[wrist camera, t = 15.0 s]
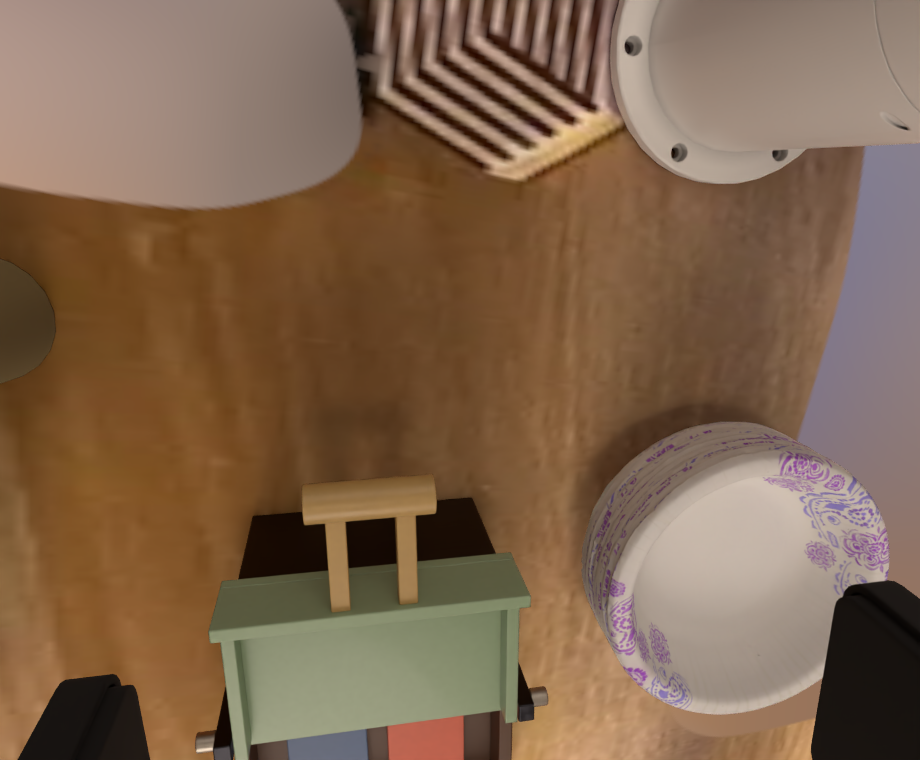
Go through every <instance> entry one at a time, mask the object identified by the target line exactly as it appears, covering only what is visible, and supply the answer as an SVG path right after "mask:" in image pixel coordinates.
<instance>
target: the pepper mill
mask: <svg viewBox="0 0 920 760" xmlns="http://www.w3.org/2000/svg"><path fill="white" fill-rule="evenodd" d="M55 332H56V330H55V319H54V311H53V309H52V307H51V304H50V302H49V300H48V298H47V295H46V293H45V292H44V291H43V289H42V288H41V287H40V286H39V285H38V284H37V283H36V281H35V280H34V279H33V278H32V277H31V276H30V275H29V274H27V273H26V272H24V271H23V270H21V269H20V268H18V267H17V266H15V265H14V264H12V263H11V262H8V261H5V260H2V259H0V383H3V382H6V381H9V380H12V379H15V378H18V377H21V376H24V375H25V374H27V373H28V372H30V371H31V370H33V369H34V368H36V367H37V366H39V365H40V363H41V362H42V361H43V359H44V358H45V357H46V355H47V354H48V353H49V351H50V350H51V347H52V343H53V339H54V336H55Z"/></svg>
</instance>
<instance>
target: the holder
mask: <svg viewBox="0 0 920 760" xmlns="http://www.w3.org/2000/svg"><path fill="white" fill-rule="evenodd" d="M367 742H368V759H369V760H388V742H387V726H384V727H376V728H369V729H367ZM511 755H512V723H505V720H504V717H503V714H502V711H501V710H499V711H492V712H485V713H478V714H470V715H464V760H511ZM248 760H289V758H288V748H287V740H282V741H275V742H268V743H260V744H253V745H251V747H250V754H249V759H248Z"/></svg>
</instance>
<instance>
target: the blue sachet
mask: <svg viewBox="0 0 920 760" xmlns="http://www.w3.org/2000/svg"><path fill="white" fill-rule="evenodd" d="M287 748H288V758H289V760H369V759H368V742H367V729H362V730H355V731H347V732H340V733H333V734H326V735H318V736H311V737H304V738H297V739H289V740H287Z"/></svg>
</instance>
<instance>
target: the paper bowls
mask: <svg viewBox="0 0 920 760" xmlns="http://www.w3.org/2000/svg"><path fill="white" fill-rule="evenodd" d="M582 565H583V566H582V567H583V568H582V578H583V584H584V588H585V593H586V596H587V598H588V601H589V604H590V606H591V609H592V610H593V612H594V615H595V617H596V619H597V621H598V623H599V625H600V627H601V629H602V631H603V632H604V634H605V636H606V638H607V640H608V642H609V643H610V645H611V647H612V649H613V651H614V653H615V654H616V656H617V658H618V660H619V662H620V663H621V665H622V666H623V668H624V669H625V671H626V672H627V674H628V675H629V676H630V677H631V678H632V679H633V680H634V681H635V682H636V683H637V684H638V685H639V686H640V687H641V688H643V689H644V690H645V691H646V692H648V693H649V694H651V695H652V696H654V697H656V698H657V699H659V700H661V701H662V702H665V703H667V704H669V705H671V706H673V707H677V708H680V709H683V710H687V711H691V712H697V713H703V714H719V715H720V714H721V715H724V714H736V713H742V712H748V711H753V710H757V709H761V708H764V707H767V706H770V705H772V704H776V703H778V702H781V701H783V700H785V699H788V698H790V697H792V696H794V695H796V694H798V693H799V692H801V691H803V690H805V689H806V688H808V687H809V686H811V685H812V684H814V683H816V682H817V681H819V680H820V679H821V678H823V673H824V667H825V661H826V655H827V649H828V643H829V637H830V631H831V625H832V619H833V613H834V607H835V604H836V601H837V600H838V599H839V598H841V597H843V594H844V591H845V590H846V589H847V588H848V586H851V585H854V584H862V583H871V582H879V581H887V576H888V570H889V543H888V536H887V531H886V528H885V525H884V521H883V519H882V516H881V513H880V511H879V509H878V507H877V505H876V503H875V502H874V500H873V498H872V497H871V496H870V494H869V493H868V491H867V490H866V489H865V487H864V486H863V485H862V484H861V483H860V482H859V481H858V480H857V479H856V478H855V477H854V476H853V475H852V474H851V473H849V472H848V471H847V470H846V469H844V468H843V467H841V466H840V465H838V464H836V463H835V462H833V461H832V460H830V459H828V458H826V457H824V456H822V455H820V454H818V453H817V452H815V451H813V450H812V449H811V448H809V447H807V446H805V445H803V444H801V443H799V442H798V441H796V440H794V439H792V438H790V437H789V436H787V435H785V434H783V433H781V432H778V431H776V430H774V429H772V428H769V427H766V426H764V425H761V424H756V423H750V422H715V423H709V424H702V425H697V426H693V427H690V428H687V429H684V430H681V431H679V432H676V433H674V434H672V435H670V436H668V437H665V438H663V439H661V440H659V441H658V442H656V443H654V444H653V445H651V446H650V447H649V448H648V449H646V450H644V451H642V452H641V453H640V454H639V455H638V456H636V457H635V458H634V459H632V460H631V461H630V462H629V463H628V464H626V465H625V466H624V467H623V469H622V470H621V471H620V472H619V473H618V474H617V475H616V476H615V477H614V478H613V479H612V481H611V482H610V483H609V484H608V485H607V486H606V488H605V489H604V492H603V493H602V495H601V497H600V498H599V500H598V502H597V504H596V505H595V507H594V509H593V511H592V514H591V517H590V520H589V525H588V528H587V532H586V535H585V539H584V543H583V548H582Z"/></svg>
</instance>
